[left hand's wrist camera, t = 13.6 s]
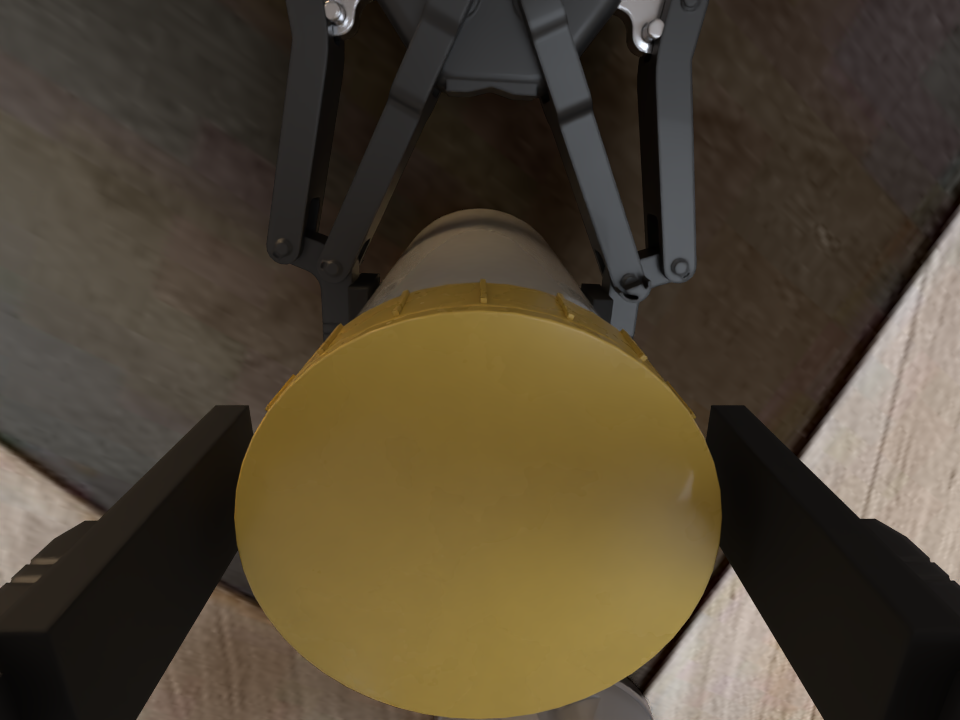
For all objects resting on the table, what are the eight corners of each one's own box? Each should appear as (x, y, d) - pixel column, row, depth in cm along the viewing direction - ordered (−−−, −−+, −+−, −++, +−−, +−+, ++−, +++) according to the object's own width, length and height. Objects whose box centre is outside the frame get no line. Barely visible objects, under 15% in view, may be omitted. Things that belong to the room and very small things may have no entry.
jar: (436, 395, 31) (377, 734, 13) (366, 249, 28) (168, 423, 10) (585, 338, 30) (746, 622, 12) (527, 179, 27) (621, 239, 9)
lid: (382, 683, 15) (366, 768, 13) (188, 378, 12) (128, 426, 10) (729, 573, 14) (773, 647, 12) (609, 203, 11) (639, 217, 9)
